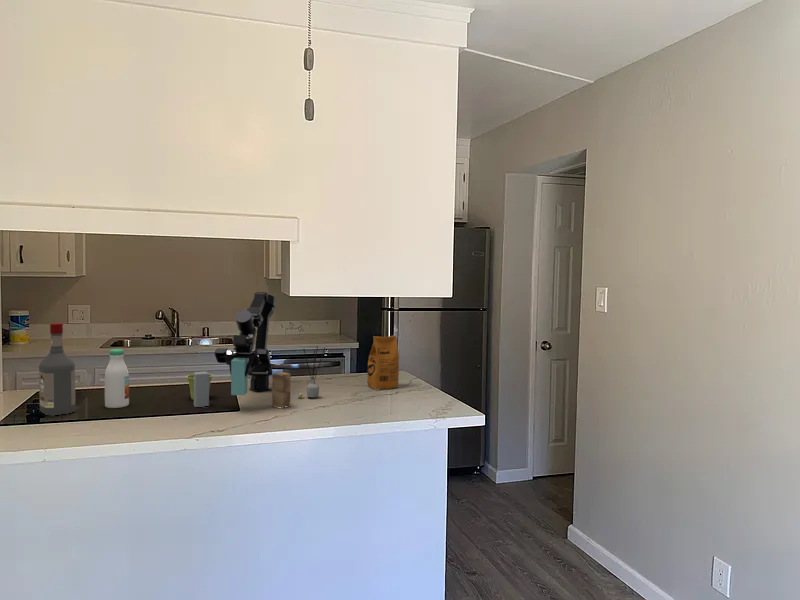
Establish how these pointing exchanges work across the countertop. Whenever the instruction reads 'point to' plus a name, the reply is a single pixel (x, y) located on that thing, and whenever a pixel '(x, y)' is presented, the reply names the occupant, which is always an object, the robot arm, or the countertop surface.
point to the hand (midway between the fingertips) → (238, 375)
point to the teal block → (238, 376)
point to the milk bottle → (116, 381)
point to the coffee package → (383, 363)
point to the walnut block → (281, 389)
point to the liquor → (57, 377)
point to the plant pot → (191, 383)
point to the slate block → (201, 389)
